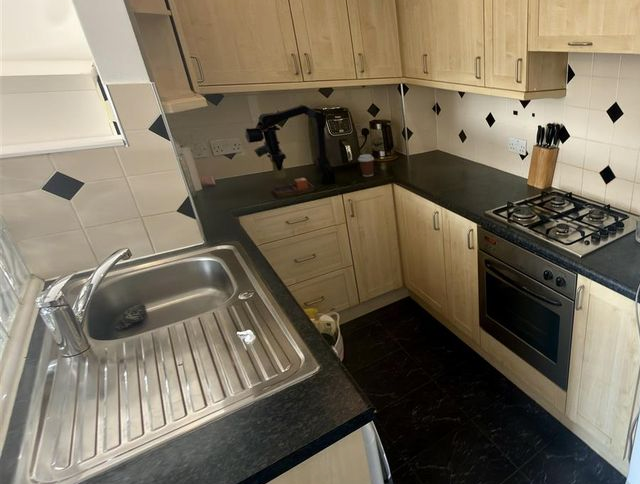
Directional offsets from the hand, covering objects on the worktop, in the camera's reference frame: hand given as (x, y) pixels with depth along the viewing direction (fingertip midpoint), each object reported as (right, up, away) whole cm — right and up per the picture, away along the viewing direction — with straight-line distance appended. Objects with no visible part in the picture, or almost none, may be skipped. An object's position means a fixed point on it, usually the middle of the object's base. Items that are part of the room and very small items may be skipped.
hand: (278, 169), depth 211 cm
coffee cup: (+34, +1, +35) cm, 49 cm away
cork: (0, -4, +2) cm, 4 cm away
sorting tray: (+4, -11, +7) cm, 14 cm away
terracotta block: (+8, -9, +9) cm, 15 cm away
